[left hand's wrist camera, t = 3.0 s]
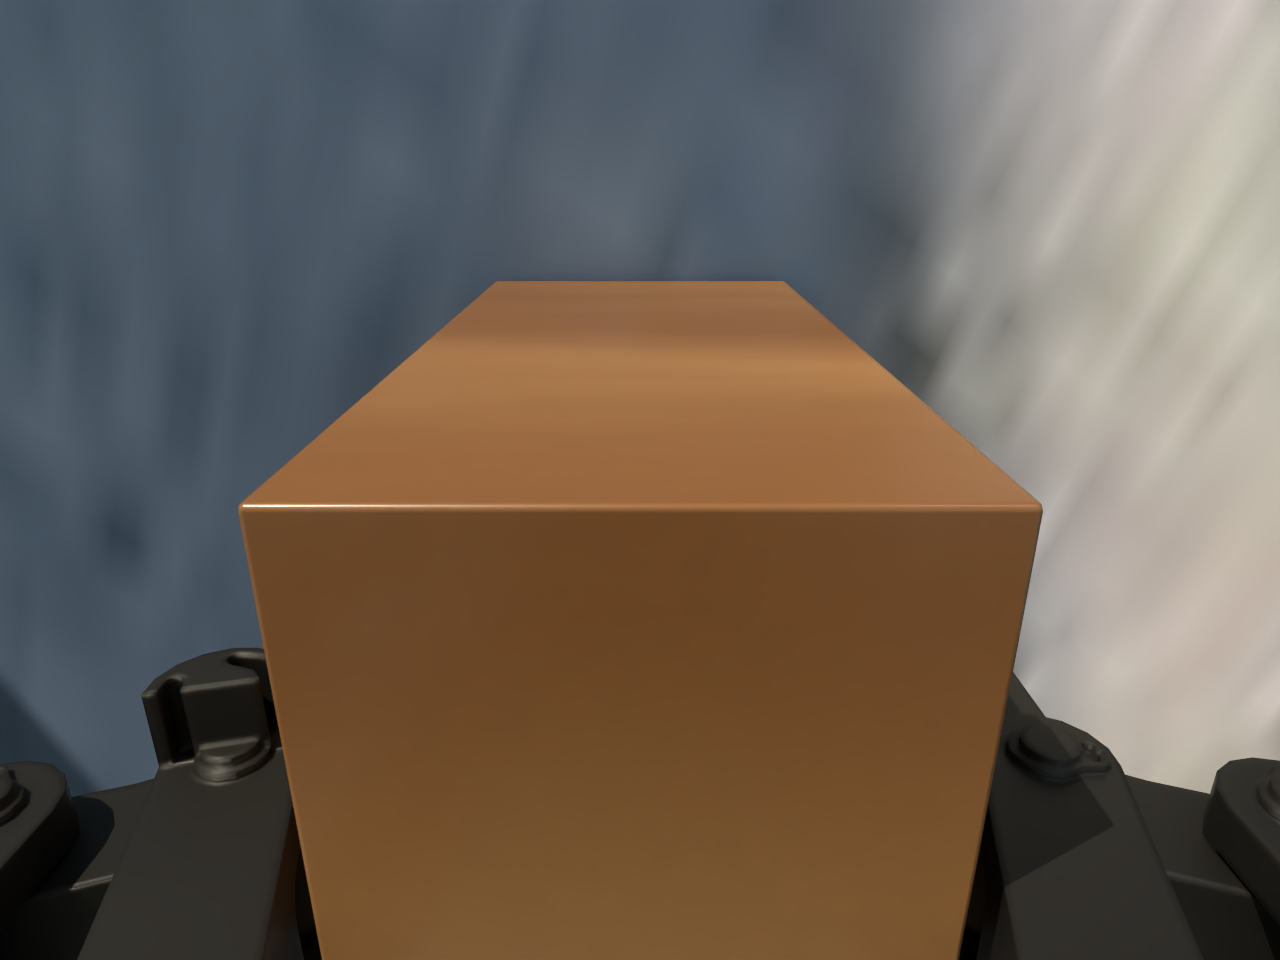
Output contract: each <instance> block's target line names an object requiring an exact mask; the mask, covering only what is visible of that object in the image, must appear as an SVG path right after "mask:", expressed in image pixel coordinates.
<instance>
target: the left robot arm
mask: <svg viewBox="0 0 1280 960" xmlns="http://www.w3.org/2000/svg"><path fill="white" fill-rule="evenodd" d="M141 696H142V700H143V704H144V708H145V712H146V716H147V720H148V724H149V728H150V732H151V736H152V740H153V744H154V748H155V752H156V755H157V759H158V763H159V769H158V771H157V773H156V776H155V778H154V779H151V780H148V781H144V782H140V783H137V784H133V785H128V786H123V787H119V788H114V789H109V790H104V791H100V792H95V793H90V794H85V795H81V796H76V797H71V794H70V790H69V787H68V784H67V780H66V777H65V774H63V773H62V772H61V771H60V770H58V769H57V768H56V767H55V766H53V765H51V764H45V763H38V762H32V761H27V762H18V763H10V764H1V765H0V960H322V957H321V952H320V946H319V941H318V936H317V930H316V925H315V920H314V914H313V909H312V904H311V898H310V893H309V887H308V882H307V877H306V871H305V866H304V861H303V855H302V850H301V845H300V839H299V834H298V829H297V823H296V818H295V813H294V807H293V802H292V797H291V791H290V786H289V781H288V775H287V770H286V765H285V759H284V754H283V748H282V743H281V738H280V732H279V727H278V722H277V716H276V711H275V706H274V700H273V695H272V690H271V684H270V679H269V674H268V668H267V663H266V658H265V652H264V649H260V648H231V649H227V650H222V651H217V652H212V653H208V654H203V655H201V656H198V657H196V658H193V659H191V660H188V661H186V662H183V663H181V664H178V665H176V666H174V667H173V668H171V669H170V670H168V671H167V672H165V673H164V674H162V675H160V676H159V677H157V678H156V679H155V680H154V681H153V682H152V683H151V684H150V685H149V687H148V688H147V689H146V690H145V691H144V692H143V694H142V695H141ZM959 960H1280V761H1277V760H1268V759H1260V758H1246V759H1240V760H1233V761H1229V762H1228V763H1227V764H1225V765H1224V766H1223V767H1222V768H1220V769H1219V770H1218V771H1217V773H1216V776H1215V780H1214V783H1213V786H1212V789H1211V793H1210V794H1208V793H1203V792H1198V791H1193V790H1188V789H1184V788H1179V787H1174V786H1169V785H1165V784H1160V783H1155V782H1150V781H1146V780H1142V779H1139V778H1135V777H1132V776H1128V775H1125V774H1124V772H1123V770H1122V767H1121V765H1120V764H1119V763H1118V761H1117V760H1116V758H1115V757H1114V756H1113V754H1112V753H1111V752H1110V750H1109V749H1108V748H1107V747H1106V746H1104V745H1103V744H1102V743H1100V742H1099V741H1098V740H1096V739H1095V738H1094V737H1092V736H1091V735H1090V734H1088V733H1087V732H1084V731H1082V730H1080V729H1078V728H1076V727H1073V726H1071V725H1069V724H1067V723H1065V722H1062V721H1059V720H1055V719H1051V718H1046V717H1045V716H1044V714H1043V713H1042V711H1041V710H1040V709H1039V707H1038V706H1037V705H1036V703H1035V702H1034V700H1033V699H1032V698H1031V696H1030V695H1029V693H1028V692H1027V691H1026V689H1025V688H1024V687H1023V685H1022V684H1021V682H1020V681H1019V680H1018V678H1017V677H1016V675H1015V674H1014V673H1012V679H1011V684H1010V689H1009V695H1008V700H1007V705H1006V711H1005V716H1004V721H1003V727H1002V732H1001V737H1000V743H999V748H998V753H997V759H996V764H995V769H994V775H993V780H992V785H991V791H990V796H989V801H988V807H987V812H986V817H985V823H984V828H983V833H982V839H981V844H980V849H979V855H978V860H977V865H976V871H975V876H974V881H973V887H972V892H971V897H970V903H969V908H968V913H967V919H966V924H965V929H964V935H963V940H962V945H961V951H960V956H959Z"/></svg>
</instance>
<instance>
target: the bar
mask: <svg viewBox="0 0 1280 960" xmlns="http://www.w3.org/2000/svg"><path fill="white" fill-rule="evenodd" d="M238 513H239V519H240V524H241V529H242V535H243V540H244V545H245V551H246V556H247V561H248V567H249V572H250V577H251V583H252V588H253V593H254V599H255V604H256V609H257V615H258V620H259V626H260V631H261V636H262V642H263V647H264V652H265V658H266V663H267V668H268V674H269V679H270V684H271V690H272V695H273V700H274V706H275V711H276V716H277V722H278V727H279V732H280V738H281V743H282V748H283V754H284V759H285V765H286V770H287V775H288V781H289V786H290V791H291V797H292V802H293V807H294V813H295V818H296V823H297V829H298V834H299V839H300V845H301V850H302V855H303V861H304V866H305V871H306V877H307V882H308V887H309V893H310V898H311V904H312V909H313V914H314V920H315V925H316V930H317V936H318V941H319V946H320V952H321V957H322V960H959V956H960V951H961V945H962V940H963V935H964V929H965V924H966V919H967V913H968V908H969V903H970V897H971V892H972V887H973V881H974V876H975V871H976V865H977V860H978V855H979V849H980V844H981V839H982V833H983V828H984V823H985V817H986V812H987V807H988V801H989V796H990V791H991V785H992V780H993V775H994V769H995V764H996V759H997V753H998V748H999V743H1000V737H1001V732H1002V727H1003V721H1004V716H1005V711H1006V705H1007V700H1008V695H1009V689H1010V684H1011V679H1012V673H1013V668H1014V663H1015V657H1016V652H1017V647H1018V641H1019V636H1020V631H1021V625H1022V620H1023V615H1024V609H1025V604H1026V599H1027V593H1028V588H1029V583H1030V577H1031V572H1032V567H1033V561H1034V556H1035V551H1036V545H1037V540H1038V535H1039V529H1040V524H1041V519H1042V513H1043V509H1042V505H1041V503H1040V502H1038V501H1037V500H1036V499H1035V498H1034V497H1033V496H1031V495H1030V494H1029V493H1028V492H1027V491H1026V490H1025V489H1023V488H1022V487H1021V486H1020V485H1019V484H1018V483H1016V482H1015V481H1014V480H1013V479H1012V478H1011V477H1010V476H1008V475H1007V474H1006V473H1005V472H1004V471H1003V470H1001V469H1000V468H999V467H998V466H997V465H996V464H995V463H993V462H992V461H991V460H990V459H989V458H988V457H986V456H985V455H984V454H983V453H982V452H981V451H979V450H978V449H977V448H976V447H975V446H974V445H973V444H971V443H970V442H969V441H968V440H967V439H966V438H964V437H963V436H962V435H961V434H960V433H959V432H958V431H956V430H955V429H954V428H953V427H952V426H951V425H949V424H948V423H947V422H946V421H945V420H944V419H942V418H941V417H940V416H939V415H938V414H937V413H936V412H934V411H933V410H932V409H931V408H930V407H929V406H927V405H926V404H925V403H924V402H923V401H922V400H921V399H919V398H918V397H917V396H916V395H915V394H914V393H912V392H911V391H910V390H909V389H908V388H907V387H906V386H904V385H903V384H902V383H901V382H900V381H899V380H897V379H896V378H895V377H894V376H893V375H892V374H890V373H889V372H888V371H887V370H886V369H885V368H884V367H882V366H881V365H880V364H879V363H878V362H877V361H875V360H874V359H873V358H872V357H871V356H870V355H869V354H867V353H866V352H865V351H864V350H863V349H862V348H860V347H859V346H858V345H857V344H856V343H855V342H854V341H852V340H851V339H850V338H849V337H848V336H847V335H845V334H844V333H843V332H842V331H841V330H840V329H838V328H837V327H836V326H835V325H834V324H833V323H832V322H830V321H829V320H828V319H827V318H826V317H825V316H823V315H822V314H821V313H820V312H819V311H818V310H817V309H815V308H814V307H813V306H812V305H811V304H810V303H808V302H807V301H806V300H805V299H804V298H803V297H801V296H800V295H799V294H798V293H797V292H796V291H795V290H793V289H792V288H791V287H790V286H789V285H788V284H786V283H785V282H783V281H497V282H495V283H494V284H493V285H492V286H490V287H489V288H488V289H487V290H486V291H485V292H484V293H482V294H481V295H480V296H479V297H478V298H477V299H475V300H474V301H473V302H472V303H471V304H470V305H469V306H467V307H466V308H465V309H464V310H463V311H462V312H460V313H459V314H458V315H457V316H456V317H455V318H454V319H452V320H451V321H450V322H449V323H448V324H447V325H446V326H444V327H443V328H442V329H441V330H440V331H439V332H437V333H436V334H435V335H434V336H433V337H432V338H431V339H429V340H428V341H427V342H426V343H425V344H424V345H422V346H421V347H420V348H419V349H418V350H417V351H416V352H414V353H413V354H412V355H411V356H410V357H409V358H407V359H406V360H405V361H404V362H403V363H402V364H401V365H399V366H398V367H397V368H396V369H395V370H394V371H392V372H391V373H390V374H389V375H388V376H387V377H386V378H384V379H383V380H382V381H381V382H380V383H379V384H377V385H376V386H375V387H374V388H373V389H372V390H371V391H369V392H368V393H367V394H366V395H365V396H364V397H362V398H361V399H360V400H359V401H358V402H357V403H356V404H354V405H353V406H352V407H351V408H350V409H349V410H348V411H346V412H345V413H344V414H343V415H342V416H341V417H339V418H338V419H337V420H336V421H335V422H334V423H333V424H331V425H330V426H329V427H328V428H327V429H326V430H324V431H323V432H322V433H321V434H320V435H319V436H318V437H316V438H315V439H314V440H313V441H312V442H311V443H309V444H308V445H307V446H306V447H305V448H304V449H303V450H301V451H300V452H299V453H298V454H297V455H296V456H294V457H293V458H292V459H291V460H290V461H289V462H288V463H286V464H285V465H284V466H283V467H282V468H281V469H279V470H278V471H277V472H276V473H275V474H274V475H273V476H271V477H270V478H269V479H268V480H267V481H266V482H264V483H263V484H262V485H261V486H260V487H259V488H258V489H256V490H255V491H254V492H253V493H252V494H251V495H249V496H248V497H247V498H246V499H245V500H244V501H243V502H241V503H240V505H239V509H238Z"/></svg>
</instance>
